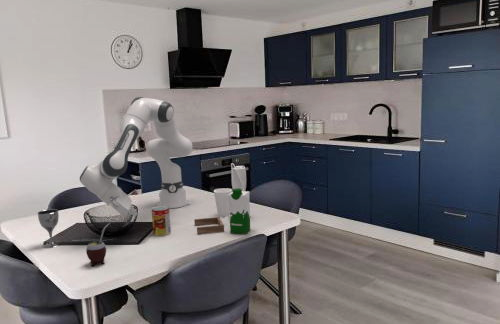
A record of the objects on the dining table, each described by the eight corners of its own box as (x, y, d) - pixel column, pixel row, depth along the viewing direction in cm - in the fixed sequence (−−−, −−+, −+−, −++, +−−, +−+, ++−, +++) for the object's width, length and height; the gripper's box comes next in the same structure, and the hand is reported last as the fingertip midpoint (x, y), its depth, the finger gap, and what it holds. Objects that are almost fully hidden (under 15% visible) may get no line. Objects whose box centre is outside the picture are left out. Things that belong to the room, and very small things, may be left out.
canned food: (155, 230, 198) (153, 205, 196) (172, 230, 197) (170, 205, 195) (151, 236, 190) (149, 210, 188) (168, 235, 190) (166, 209, 188)
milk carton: (228, 233, 189) (225, 190, 186) (235, 227, 198) (233, 185, 195) (246, 235, 186) (244, 191, 183) (252, 228, 195) (251, 186, 192)
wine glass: (48, 249, 178) (44, 215, 175) (37, 246, 182) (33, 212, 179) (65, 243, 184) (62, 210, 182) (54, 240, 188) (51, 208, 186)
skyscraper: (229, 219, 211) (226, 164, 207) (236, 215, 218) (233, 161, 214) (245, 220, 208) (242, 164, 204) (251, 216, 215) (249, 162, 211)
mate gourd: (83, 265, 158) (79, 227, 156) (98, 258, 166) (94, 221, 163) (99, 268, 156) (95, 229, 153) (113, 260, 163) (110, 222, 161)
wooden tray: (194, 225, 204) (194, 219, 203) (219, 222, 206) (219, 216, 206) (197, 234, 190) (197, 228, 189) (224, 231, 192) (223, 225, 192)
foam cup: (234, 212, 225) (233, 188, 223) (231, 217, 215) (230, 192, 213) (216, 212, 225) (215, 188, 223) (213, 217, 216) (212, 192, 214)
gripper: (114, 194, 176) (140, 215, 180) (119, 185, 196) (142, 204, 200) (104, 206, 176) (130, 226, 180) (109, 195, 196) (133, 214, 199)
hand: (136, 214), depth 190 cm, fingers closed
